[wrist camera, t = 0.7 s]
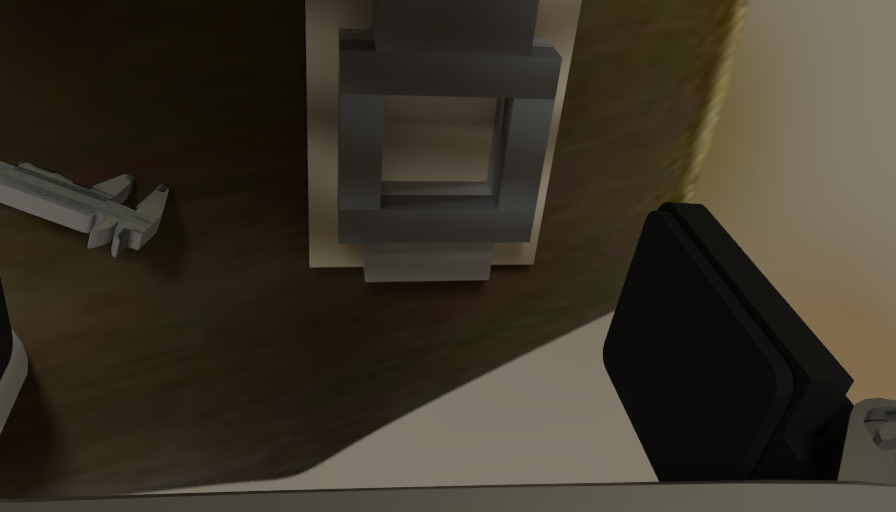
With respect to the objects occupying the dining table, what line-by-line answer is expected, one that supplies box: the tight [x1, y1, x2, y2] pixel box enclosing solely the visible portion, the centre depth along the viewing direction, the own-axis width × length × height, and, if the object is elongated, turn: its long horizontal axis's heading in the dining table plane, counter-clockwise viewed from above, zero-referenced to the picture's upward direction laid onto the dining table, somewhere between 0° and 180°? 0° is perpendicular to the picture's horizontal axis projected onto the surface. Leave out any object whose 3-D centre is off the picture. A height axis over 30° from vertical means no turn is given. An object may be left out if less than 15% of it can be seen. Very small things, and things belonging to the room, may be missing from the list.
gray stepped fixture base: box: [305, 0, 582, 282], centre depth 38 cm, size 17×13×4 cm
